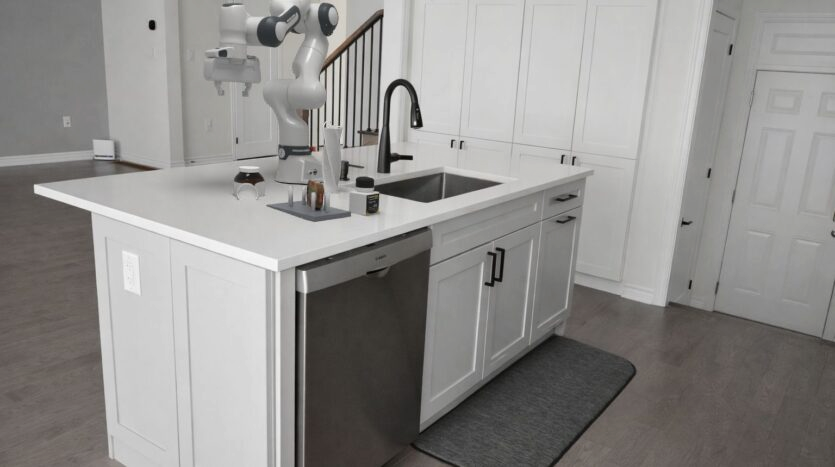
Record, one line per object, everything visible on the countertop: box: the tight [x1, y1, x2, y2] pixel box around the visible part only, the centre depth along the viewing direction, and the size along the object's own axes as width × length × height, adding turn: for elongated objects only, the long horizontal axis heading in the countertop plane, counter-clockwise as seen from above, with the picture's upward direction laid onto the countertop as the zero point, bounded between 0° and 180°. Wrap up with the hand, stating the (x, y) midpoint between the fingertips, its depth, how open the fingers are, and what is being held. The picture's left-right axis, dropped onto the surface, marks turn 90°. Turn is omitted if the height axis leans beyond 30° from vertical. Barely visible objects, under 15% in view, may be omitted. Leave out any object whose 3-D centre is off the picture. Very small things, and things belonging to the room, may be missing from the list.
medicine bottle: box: [348, 175, 380, 217], centre depth 205 cm, size 7×7×12 cm
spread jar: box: [232, 165, 266, 201], centre depth 214 cm, size 12×11×12 cm
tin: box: [306, 180, 324, 209], centre depth 203 cm, size 15×3×8 cm, turn 21°
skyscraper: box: [321, 120, 343, 195], centre depth 230 cm, size 8×8×28 cm
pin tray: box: [265, 185, 352, 223], centre depth 201 cm, size 15×24×8 cm, turn 49°
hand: (233, 96), depth 212 cm, fingers open, 8 cm apart
